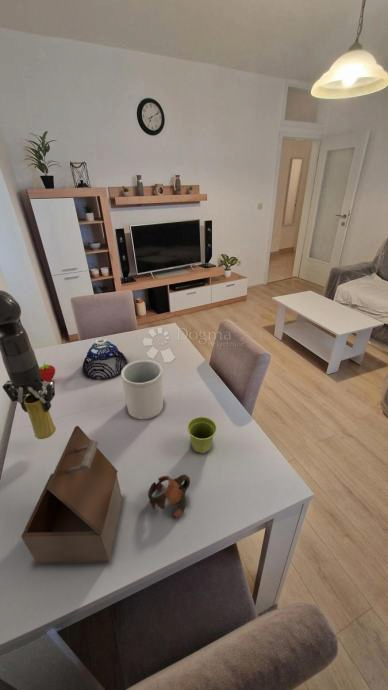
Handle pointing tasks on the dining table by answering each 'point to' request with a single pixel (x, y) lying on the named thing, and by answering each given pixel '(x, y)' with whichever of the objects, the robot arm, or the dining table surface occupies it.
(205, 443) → the plant pot
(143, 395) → the utensil holder
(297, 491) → the dining table surface
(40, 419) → the vase
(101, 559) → the chest
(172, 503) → the brown plush toy
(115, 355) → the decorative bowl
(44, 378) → the strawberry
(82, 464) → the lid
